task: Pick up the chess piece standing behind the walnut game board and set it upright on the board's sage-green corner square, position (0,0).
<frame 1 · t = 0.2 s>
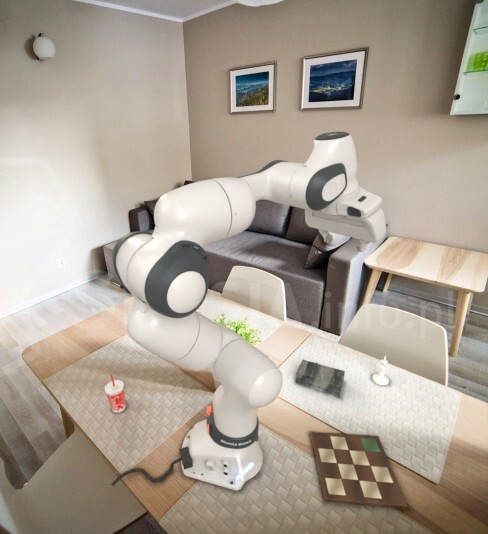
hand: (344, 245, 86), 52 cm above the table, tool tilted 20°, fingers open, 8 cm apart
stone block: (319, 382, 112), on the table
chess piece: (380, 380, 110), on the table
game board: (353, 467, 84), on the table
beverage cup: (119, 407, 109), on the table
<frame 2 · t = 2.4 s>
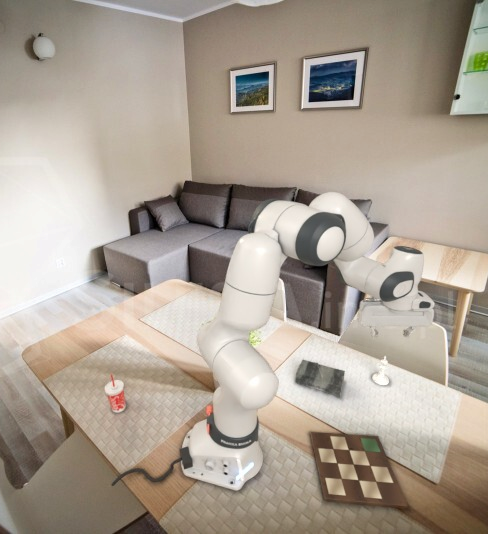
hand: (390, 335, 103), 18 cm above the table, tool pointing down, fingers open, 8 cm apart
nothing on the table moved.
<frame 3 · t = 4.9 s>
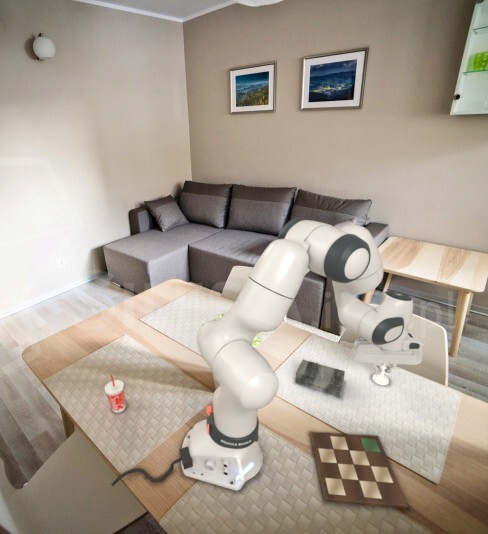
hand: (382, 371, 109), 4 cm above the table, tool pointing down, fingers closed on chess piece
chess piece: (380, 380, 110), on the table, touching gripper
everything else where it was.
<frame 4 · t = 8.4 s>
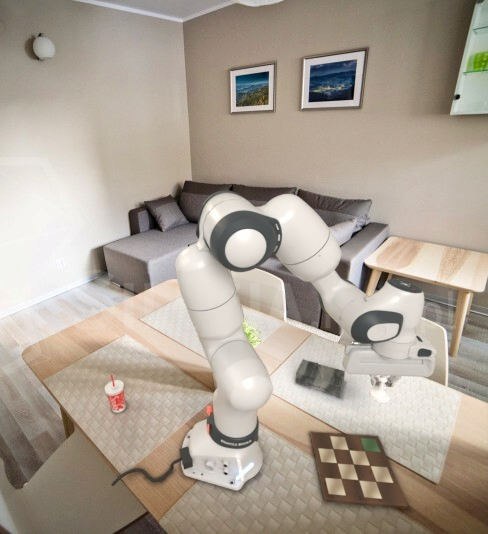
hand: (381, 385, 85), 19 cm above the table, tool pointing down, fingers closed on chess piece
chess piece: (378, 395, 86), point 15 cm above the table, touching gripper
everything else where it was.
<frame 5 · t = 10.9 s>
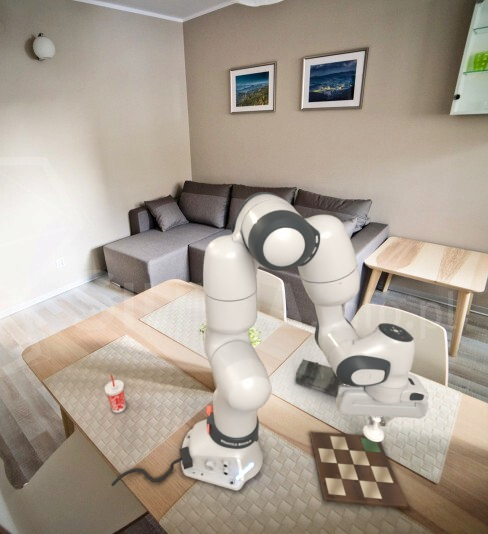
hand: (375, 424, 85), 9 cm above the table, tool pointing down, fingers closed on chess piece
chess piece: (373, 434, 87), point 6 cm above the table, touching gripper
everything else where it was.
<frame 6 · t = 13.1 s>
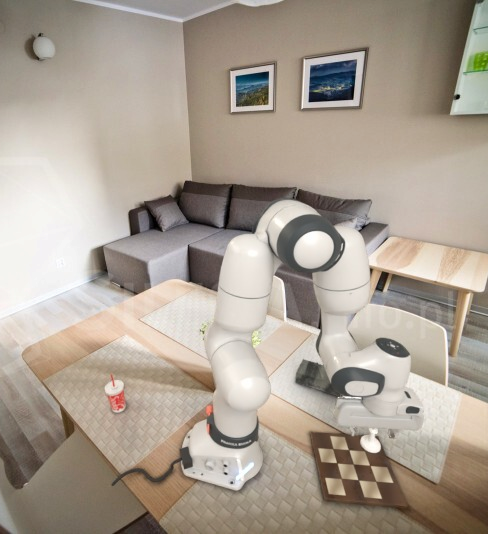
hand: (372, 435, 87), 5 cm above the table, tool pointing down, fingers open, 8 cm apart
chess piece: (370, 445, 88), point 1 cm above the table, touching game board
everything else where it was.
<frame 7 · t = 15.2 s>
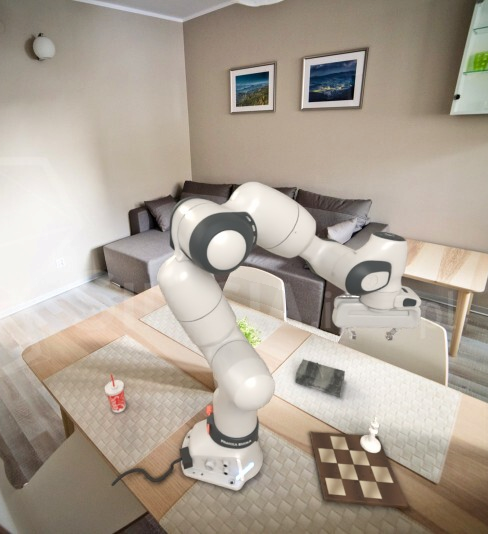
hand: (370, 338, 88), 28 cm above the table, tool pointing down, fingers open, 8 cm apart
nothing on the table moved.
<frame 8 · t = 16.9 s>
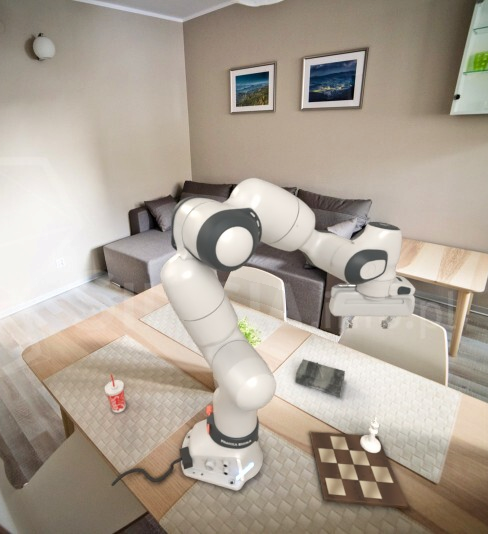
hand: (366, 327, 90), 29 cm above the table, tool pointing down, fingers open, 8 cm apart
nothing on the table moved.
at the end: chess piece 0.1 cm from the target spot on the game board, point 1.1 cm above the game board's base; chess piece tilted 0°; the gripper is holding nothing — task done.
